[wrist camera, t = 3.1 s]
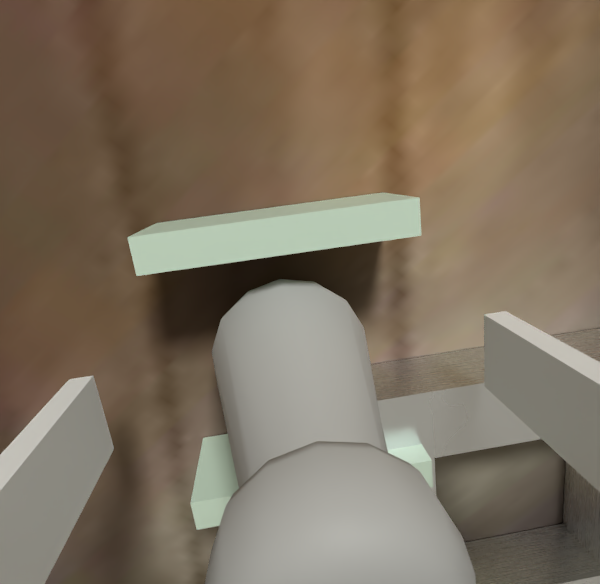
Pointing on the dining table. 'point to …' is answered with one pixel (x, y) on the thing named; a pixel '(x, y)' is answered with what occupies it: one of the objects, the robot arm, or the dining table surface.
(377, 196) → the pale green rectangular blocks
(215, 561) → the salt shaker
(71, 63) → the dining table surface
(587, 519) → the socket
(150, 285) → the dining table surface
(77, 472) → the robot arm
